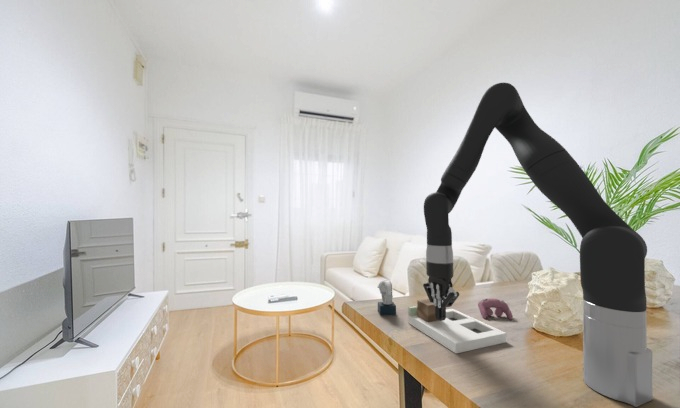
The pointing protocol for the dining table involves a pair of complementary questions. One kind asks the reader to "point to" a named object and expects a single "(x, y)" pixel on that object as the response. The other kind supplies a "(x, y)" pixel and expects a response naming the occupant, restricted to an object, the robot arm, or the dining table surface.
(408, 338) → the dining table surface
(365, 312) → the dining table surface
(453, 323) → the board
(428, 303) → the walnut block
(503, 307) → the video game controller
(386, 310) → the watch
